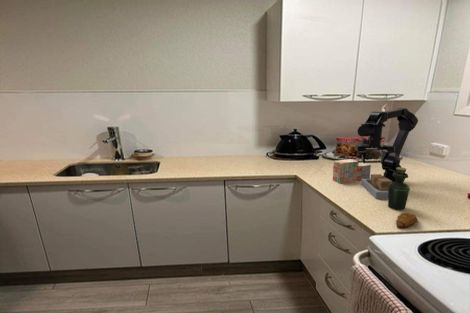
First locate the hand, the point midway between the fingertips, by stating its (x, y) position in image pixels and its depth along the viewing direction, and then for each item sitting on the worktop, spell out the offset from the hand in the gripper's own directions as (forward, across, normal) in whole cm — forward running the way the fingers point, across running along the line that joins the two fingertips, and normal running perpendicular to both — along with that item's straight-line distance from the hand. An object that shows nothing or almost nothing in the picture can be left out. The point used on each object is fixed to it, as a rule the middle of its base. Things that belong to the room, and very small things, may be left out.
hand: (372, 163), depth 141 cm
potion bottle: (+13, 0, +30) cm, 33 cm away
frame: (+12, -1, +10) cm, 16 cm away
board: (+10, -1, +10) cm, 14 cm away
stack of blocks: (+13, +8, -9) cm, 18 cm away
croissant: (+13, +3, +46) cm, 48 cm away
